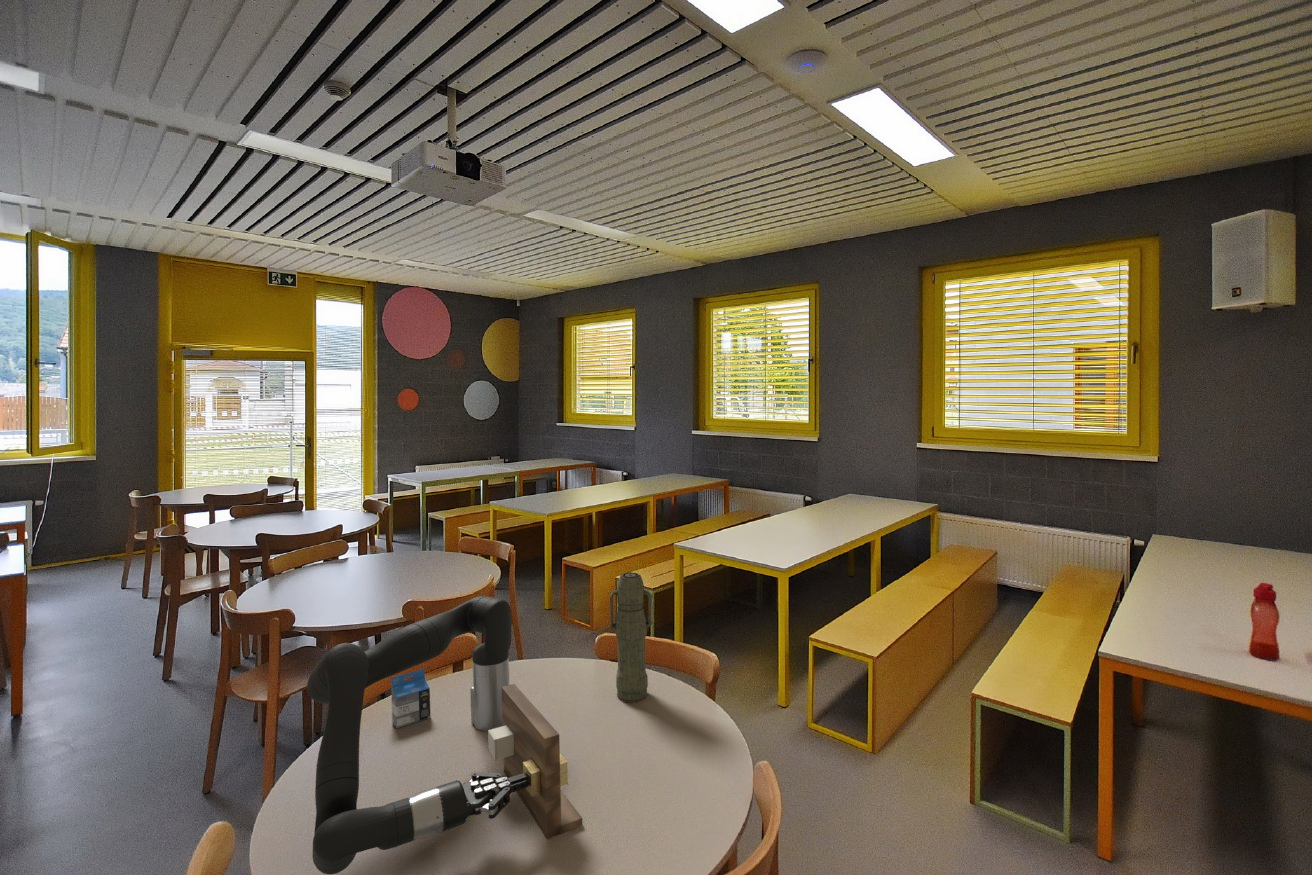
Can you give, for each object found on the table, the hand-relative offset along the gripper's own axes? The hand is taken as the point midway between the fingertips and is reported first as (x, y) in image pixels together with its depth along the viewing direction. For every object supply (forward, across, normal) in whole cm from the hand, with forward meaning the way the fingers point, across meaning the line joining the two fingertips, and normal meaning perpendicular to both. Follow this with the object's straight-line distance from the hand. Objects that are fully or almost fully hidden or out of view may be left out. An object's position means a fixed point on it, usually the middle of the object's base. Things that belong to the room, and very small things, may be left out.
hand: (527, 779), depth 125 cm
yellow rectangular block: (+4, 0, +2) cm, 4 cm away
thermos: (+45, +38, +10) cm, 60 cm away
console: (+6, +8, +10) cm, 14 cm away
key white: (+2, +16, +2) cm, 16 cm away
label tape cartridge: (-11, +57, +10) cm, 59 cm away
